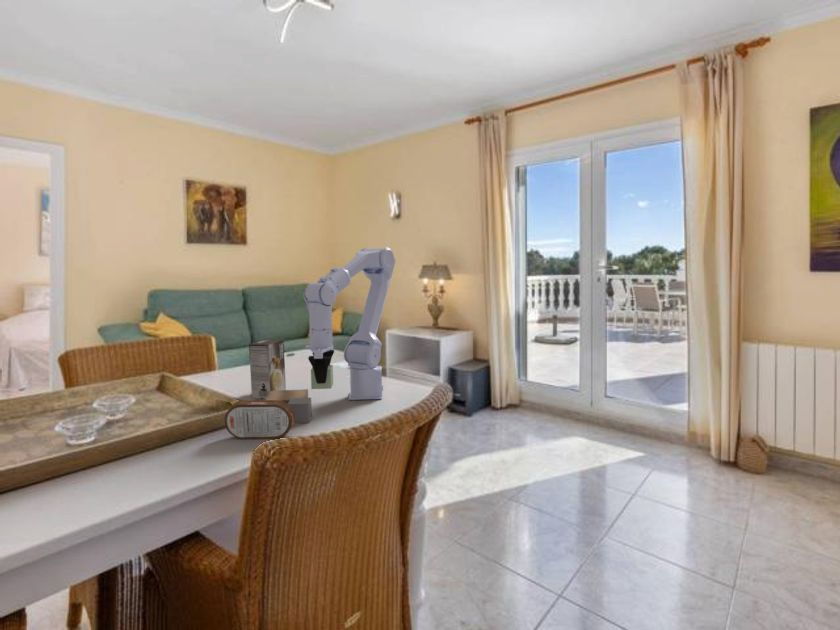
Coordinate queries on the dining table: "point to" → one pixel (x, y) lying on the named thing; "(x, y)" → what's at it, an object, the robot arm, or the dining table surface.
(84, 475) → the dining table surface
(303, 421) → the grey cube
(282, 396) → the walnut base
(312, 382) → the green cube
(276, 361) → the coffee box
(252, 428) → the tin
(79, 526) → the dining table surface
